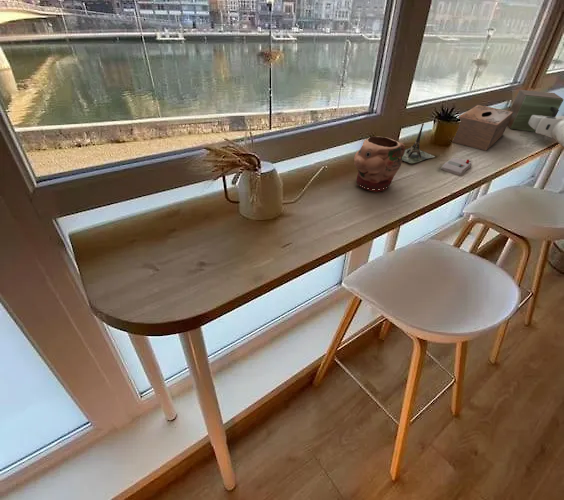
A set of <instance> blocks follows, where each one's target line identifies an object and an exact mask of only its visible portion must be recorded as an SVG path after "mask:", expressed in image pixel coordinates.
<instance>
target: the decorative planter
mask: <svg viewBox="0 0 564 500" xmlns="http://www.w3.org/2000/svg"><path fill="white" fill-rule="evenodd" d="M405 149H406V145H405V144H404V143H402V142H399V141H398V140H395V139H392V138H391V137H385V136H375V135H372V136H369V137H368V138H366V139H364V141H363V143H362V145H361V147H360V148H359V150H357V152H355V154H354V156H353V157H354V158H353V164H354V166H355V168H356V169H357V176H356V184H357V185H358V186H359V187H360V188H362V189H364V190H367V191H369V192H374V193H375V192H382V191H386V190H387V189H388V188H389V187H390V185H391V184H392V181H393V180H394V178H395V176H396V174H397V172H398V171H399V170H400V169H401V166H402V163H403V160H402V157H403V155H404V153H405ZM360 185H361V186H360ZM362 186H363V187H362ZM388 186H389V187H388ZM364 187H365V188H364ZM386 187H387V188H386ZM367 188H369V189H367ZM383 188H384V189H383ZM372 189H375V190H372ZM378 189H380V190H378Z"/></svg>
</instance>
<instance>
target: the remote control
mask: <svg viewBox="0 0 564 500" xmlns="http://www.w3.org/2000/svg"><path fill="white" fill-rule="evenodd" d="M472 164H473V163H472V159H463V158H458V157H452V158H450V159H449V160H448V161H446V162H445V163H443V164H442V165H441V168H440V170H442V171H444V172H448V173H451V174H454V175H457V176H461V175H462V174H464V173H465V172H466V171H467V170H469V169H470V168H471V166H472Z"/></svg>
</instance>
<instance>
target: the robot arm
mask: <svg viewBox="0 0 564 500" xmlns="http://www.w3.org/2000/svg"><path fill="white" fill-rule="evenodd" d="M528 124H529V125H530V126H531V127H532V128H533V129H535V130H536V131H535V133H536V134H538V135H543V136H546V137H548V138H551V139H554V140H555V141H556V143H558V144H559V145H560V146H561V147H563V148H564V115H561V116H560V115H559V116H556V117H550V116H544V115H541V116H540V115H532V116H531V118H530V120H529V122H528Z"/></svg>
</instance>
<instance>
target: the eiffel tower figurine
mask: <svg viewBox="0 0 564 500" xmlns="http://www.w3.org/2000/svg"><path fill="white" fill-rule="evenodd" d="M424 125H425V122H422V123H421V126H420V129H419V132H418V135H417V137H416V139H415V140H414V143H413V145H411V146H410V147H409V148H405V153H404V155H403V157H402V162H403V161H404V162H406V163H408V164H416V163H420V162H422V161H425V160H427V159H432V158H436V156H435V155H433V154H431V153H428V152H426V151H423V150H421V149H420V143H421V137H422V132H423V128H424Z"/></svg>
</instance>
